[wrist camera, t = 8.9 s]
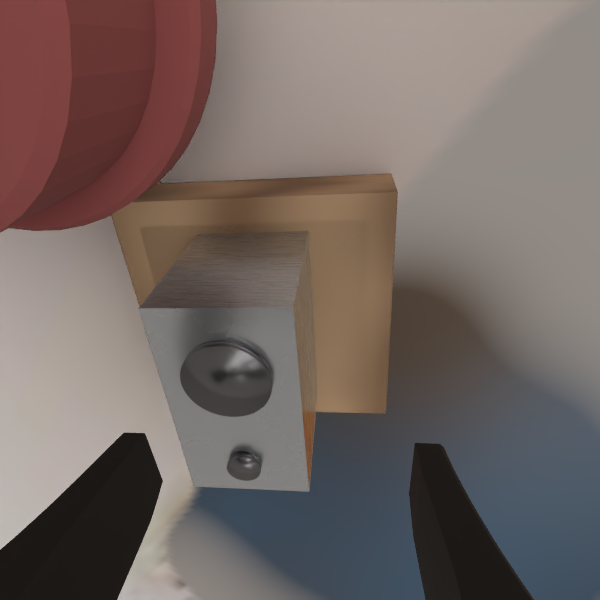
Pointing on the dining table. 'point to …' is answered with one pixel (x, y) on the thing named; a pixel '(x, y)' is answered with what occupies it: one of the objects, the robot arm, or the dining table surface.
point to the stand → (323, 257)
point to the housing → (239, 358)
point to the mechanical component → (96, 103)
